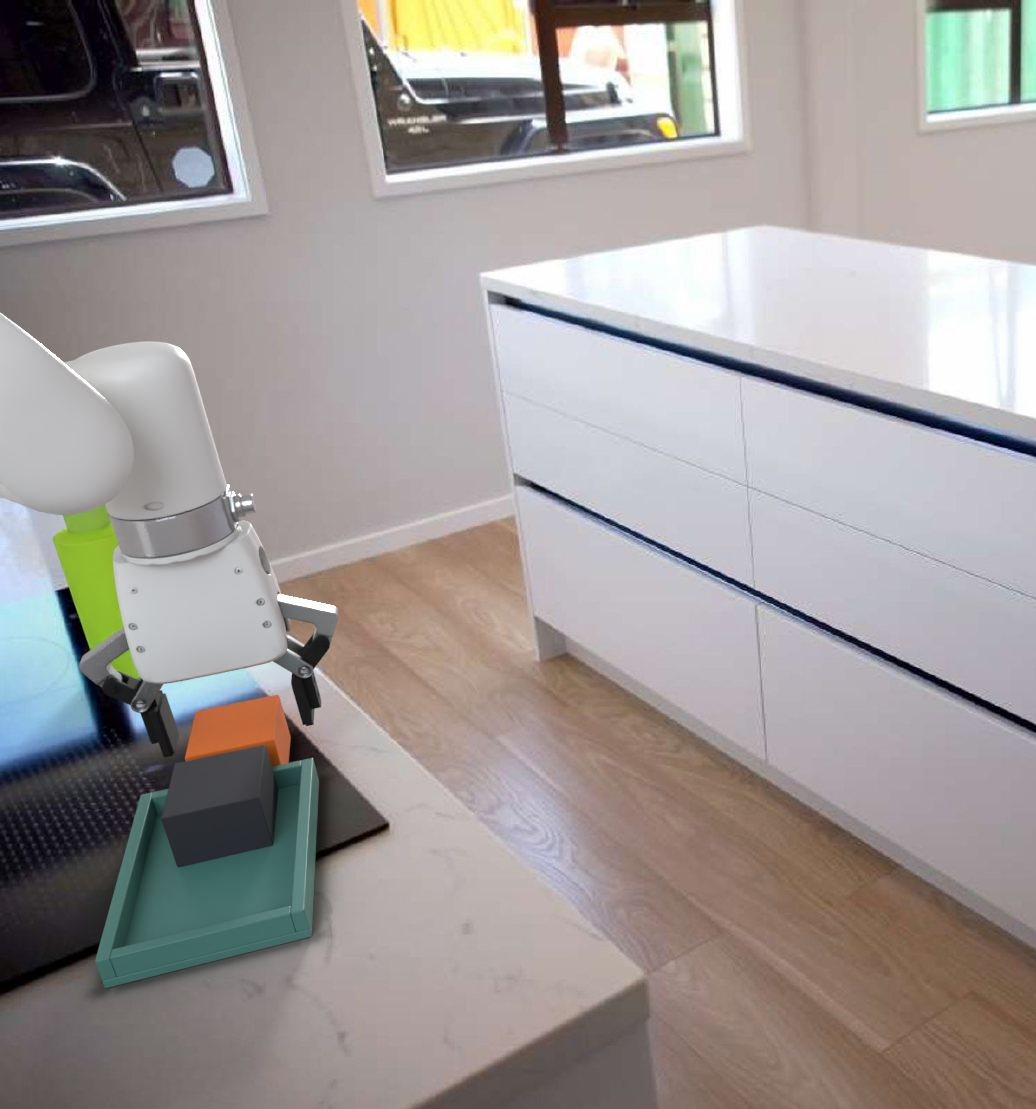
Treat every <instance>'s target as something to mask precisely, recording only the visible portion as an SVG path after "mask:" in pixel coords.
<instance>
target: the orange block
mask: <svg viewBox="0 0 1036 1109" xmlns="http://www.w3.org/2000/svg"><path fill="white" fill-rule="evenodd" d="M283 707H284V706H283V704H282V701H281V697H280V695H279V694H274V695H269V696H264V697H259V698H254V699H250V700H245V701H239V702H235V703H229V704H223V705H219V706H213V707H209V708H205V709H200V710H199V709H198V710H195V711H194V712H195V713H194V716H193V720H192V726H191V728H190V733H189V737H188V742H187V747H186V752H185V756H184V760H185V761H189V760H194V759H199V758H204V757H208V756H213V755H218V754H223V753H227V752H232V751H237V750H242V749H246V748H251V747H256V746H261V745H266V748H267V752H268V755H269V759H270V762H271V766H277V765H281V764H286V763H290V750H291V749H290V748H291V739H292V736H291V733H290V730H289V726H288V722H287V719H286V716H285V711H284V708H283ZM185 761H184V762H185Z"/></svg>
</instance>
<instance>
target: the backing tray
mask: <svg viewBox="0 0 1036 1109" xmlns="http://www.w3.org/2000/svg"><path fill="white" fill-rule="evenodd" d="M272 769H273V773H274V776H275V780H276V783H277V787H278V800H277V810H276V820H275V830H274V840H273V845H272V846H269V847H264V848H260V849H256V850H251V851H247V852H243V853H238V854H234V855H230V856H225V857H221V858H217V859H213V860H208V861H204V862H200V863H195V864H191V865H187V866H182V867H177V865H176V862H175V859H174V856H173V853H172V850H171V847H170V844H169V841H168V838H167V835H166V832H165V829H164V826H163V823H162V820H161V818H162V814H163V810H164V805H165V801H166V797H167V793H168V789H169V788H165V789H162V790H161V789H160V790H156V791H152V792H148V793H143V794H140V795H139V800H138V802H137V806H136V811H135V813H134V817H133V821H132V825H131V829H130V832H129V836H128V839H127V843H126V847H125V849H124V850H125V851H124V854H123V858H122V862H121V865H120V868H119V872H118V875H117V880H116V883H115V887H114V891H113V895H112V898H111V900H110V901H111V902H110V905H109V909H108V913H107V915H106V916H107V917H106V919H105V923H104V927H103V930H102V934H101V938H100V942H99V945H98V949H97V953H96V956H95V959H94V963H95V966H96V968H97V971H98V974H99V976H100V979H101V981H102V984H103V987H104V988H105V989H109V988H114V987H116V986H121V985H124V984H129V983H132V982H137V981H141V980H145V979H149V978H152V977H157V976H161V975H164V974H169V973H172V972H176V971H180V970H185V969H188V968H192V967H195V966H201V965H204V964H208V963H212V962H216V961H221V960H223V959H224V960H225V959H228V958H232V957H236V956H240V955H243V954H247V953H251V952H256V951H260V950H264V949H267V948H272V947H275V946H279V945H282V944H287V943H291V942H295V941H298V940H303V939H308V938H311V937H312V936H313V919H314V918H313V917H314V896H315V874H316V854H317V837H318V836H317V835H318V833H317V832H318V812H319V791H320V779H319V775H318V771H317V768H316V764H315V760H314V758H313V757H311V758H305V759H302V760H301V759H300V760H296V761H290V762H288V763H286V764H281V765H277V766H272Z"/></svg>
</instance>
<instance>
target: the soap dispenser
mask: <svg viewBox="0 0 1036 1109" xmlns="http://www.w3.org/2000/svg"><path fill="white" fill-rule="evenodd" d="M62 518H63V520H64V524H65V528H63V529H61V530H59V531H58V532H57V533H55V534H54V536H53V537H52V542H53V545H54V548H55V551H56V554H57V557H58V559H59V563H60V566H61V568H62V571H63V575H64V577H65V581H66V583H67V586H68V588H69V591H70V595H71V598H72V601H73V604H74V606H75V609H76V612H77V615H78V618H79V621H80V623H81V626H82V630H83V633H84V636H85V638H86V641H87V645H88V647H89V651H90V650H92V649H93V648H94V647H96V646H97V645H99V644H100V643H101V642H103V641H104V640H106V639H107V638H109V637H110V636H111V635H113V634H114V633H116V632H117V631H118V630H120V629H121V628H123V627H124V626H123V621H122V617H121V612H120V607H119V602H118V597H117V591H116V585H115V578H114V569H113V552H114V549H115V548H116V547H117V546H119V544H118V541H117V538H116V535H115V532H114V529H113V526H112V523H111V520H110V517H109V514H108V512H107V509H106V506H105V504H104V505H103V506H101V507H99V508H96V509H94V510H91V511H89V512H84V513H79V514H74V515H62ZM110 664H111V665H112V666H113V667H114V669H115V670H116V671H120V672H122V673H125V674H127V675H129V676H131V677H133V678H136V679H138V680H139V679H141V678H140V676H139V674H138V672H137V670H136V668H135V665H134V663H133V660H132V657H131V653H130V650H127V651H126V652H125V653H123V654H122V655H120V656H119V657H118V658H116V659H115V660H113V661H112V662H110Z"/></svg>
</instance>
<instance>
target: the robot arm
mask: <svg viewBox="0 0 1036 1109" xmlns="http://www.w3.org/2000/svg"><path fill="white" fill-rule="evenodd" d="M0 498H2V499H4V500H8V501H10V502H13V503H15V504H18V505H21V506H23V507H26V508H28V509H31V510H33V511H36V512H39V513H43V514H48V515H55V516H63V515H74V514H79V513H84V512H89V511H91V510H94V509H96V508H99V507H101V506H103V505H104V504H105V506H106V509H107V512H108V514H109V517H110V520H111V523H112V526H113V529H114V532H115V535H116V538H117V541H118V544H119V546H117V547H116V548H115V549H114V552H113V569H114V578H115V585H116V591H117V597H118V602H119V607H120V612H121V617H122V621H123V626H124V627H123V628H121V629H120V630H118V631H117V632H116V633H114V634H113V635H111V636H110V637H109V638H107V639H106V640H104V641H103V642H101V643H100V644H99V645H97V646H96V647H94V648H93V649H92V650H90V649H89V651H88V652H86V653H84V654H83V655H82V656H81V659H80V662H79V664H78V670H79V671H80V672H81V673H82V674H83V675H84V676H85V677H87V678H88V679H89V680H90V681H91V682H93V683H94V684H95V685H96V686H99V687H100V688H101V689H102V692H103V693H104V694H105V695H107V696H108V697H111V698H113V699H116V700H118V701H120V702H121V703H125V704H126V705H128V706H130V708H131V710H132V711H133V712H135V713H139V714H140V716H141V719H142V722H143V725H144V727H145V731H146V733H147V736H148V739H149V742H150V743H151V745H153V744H158V745H159V748H160V751H161V754H162V757H163V758H169V757H173V755H174V754H176V751H177V746H178V744H179V743H178V742H179V739H180V733H179V729H178V726H177V723H176V721H175V717H174V714H173V712H172V708H171V705H170V702H169V699H168V697H167V694H166V693H165V692H163V690H162V687H163V686H164V685H166V684H173V683H179V682H185V681H190V680H194V679H200V678H205V677H209V676H214V675H218V674H224V673H228V672H229V673H230V672H234V671H239V670H242V669H243V670H244V669H247V668H252V667H258V666H261V665H265V664H268V663H272V662H273V663H275V664H276V665H278V666H280V667H281V668H283V669H285V670H286V671H288V672H289V673H291V678H290V684H291V685H290V686H291V690H292V693H293V696H294V700H295V703H296V706H297V709H298V713H299V717H300V720H301V724H302V726H306V727H309V726H314V724H315V709H321V708H322V698H321V697H322V696H321V693H320V689H319V685H318V682H317V678H316V676H315V672H314V669H315V668H316V667H317V665H318V664H319V663H320V661H321V660H322V659H323V658H324V657H325V655H326V654H327V652H328V651H329V649H330V646H331V642H332V639H333V637H334V634H335V630H336V627H337V624H338V620H339V609H338V607H336V606H335V605H331V604H326V603H321V602H317V601H313V600H308V599H303V598H299V597H295V596H294V597H293V596H289V595H285V594H282V592H281V588H280V586H279V583H278V580H277V577H276V574H275V571H274V569H273V567H272V563H271V562H270V559H269V557H268V554H267V552H266V550H265V548H264V546H263V544H262V542H261V540H260V538H259V535H258V533H257V532H256V529H255V528H254V527H253V525H252V523H251V522H250V521H247V520H243V519H242V520H241V518H243V517H246V516H247V515H250V514H255V513H258V512H257V504H256V499H255V496H254V494H253V493H251V494H250V493H249V494H244V495H242V494H241V493H239V494H236V493H235V491H234V490H233V491H232V490H231V486H230V484H227V481H226V478H225V473H224V471H223V467H222V464H221V459H220V456H219V454H218V449H217V446H216V443H215V440H214V436H213V432H212V429H211V425H210V423H209V419H208V416H207V412H206V408H205V405H204V401H203V398H202V395H201V390H200V388H199V384H198V381H197V378H196V373H195V371H194V368H193V365H192V363H191V360H190V358H189V356H187V354H186V353H185V352H184V351H183V350H182V349H181V347H179V346H176V345H174V344H171V343H169V342H163V341H162V342H161V341H154V340H153V341H150V340H148V341H147V340H146V341H133V342H127V343H120V344H115V345H110V346H107V347H103V348H99V349H96V350H92V351H90V352H87V353H85V354H83V355H80V356H79V357H77V358H75V359H73V360H69V361H62V360H61V359H60V358H59V357H58V356H57V355H56V354H54V353H53V352H51V351H50V350H49V349H48V348H47V347H45V345H43V344H42V343H40V341H38V340H37V339H36V338H34V337H33V336H32V335H31V334H30V333H28V332H27V331H25V330H24V329H23V328H21V327H20V326H19V325H18V324H16V322H14V321H12V320H11V319H10V318H8V317H7V316H6V315H4V314H3V313H1V312H0ZM290 620H293V621H297V622H301V623H302V622H303V623H307V624H311V625H313V626H315V629H314V632H313V633H312V634H311V636H310V637H309V638H308V640H307V641H306V643H305V644H304V643H303V642H300V641H299V640H297V639H296V638H294V637H293V636H291V635H289V634H287V633H290V632H291V621H290ZM127 650H130V653H131V657H132V660H133V663H134V665H135V668H136V670H137V672H138V674H139V676H140V678H138V679H136V678H133V677H131V676H129V675H127V674H125V673H122V672H120V671H116V670H115V669H114V667H113V666H112V665H111V664H110V662H112V661H113V660H115V659H116V658H118V657H119V656H120V655H122V654H123V653H125V652H126V651H127Z"/></svg>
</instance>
